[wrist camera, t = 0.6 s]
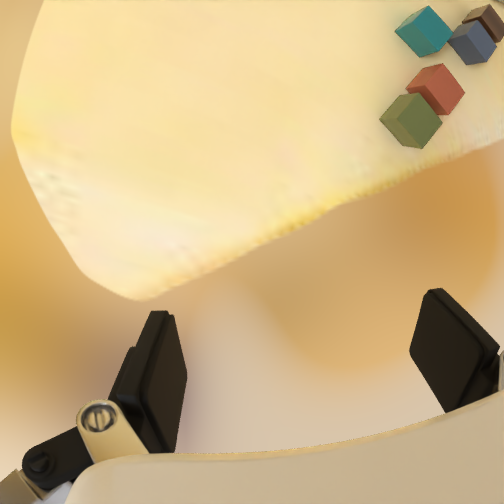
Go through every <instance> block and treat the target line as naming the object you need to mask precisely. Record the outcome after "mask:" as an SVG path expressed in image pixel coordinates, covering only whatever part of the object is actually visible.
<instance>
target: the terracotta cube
mask: <svg viewBox="0 0 504 504" xmlns="http://www.w3.org/2000/svg"><path fill="white" fill-rule="evenodd" d="M406 90H407V91H408V92H409V93H410V94H412V93H420V95H421V96H422V97H423V98H424V99H425V101H426V102H427V103H428V104H429V106H430V107H431V108H432V109H433V111H434V112H435V113H436V114H437V115H449V114H450V112H451V111H452V110H453V108H454V107H455V106H456V104H457V103H458V102H459V100H460V99H461V98H462V96H463V95H464V94H465V92H464V90H463V89H462V88H461V86H460V85H459V84H458V82H457V81H456V79H455V78H454V77H453V76H452V74H451V73H450V72H449V70H448V69H447V68H446V67H445V65H444V64H443V63H442V64H438V65H434V66H430V67H426V68H423V69H422V70H421V71H420V72H419V74H418V75H417V76H416V77H415V78H414V79H413V81H412V82H411V83H410V84H409V85H408V86H407V88H406Z"/></svg>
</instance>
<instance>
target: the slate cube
mask: <svg viewBox="0 0 504 504" xmlns="http://www.w3.org/2000/svg"><path fill="white" fill-rule="evenodd" d="M448 42H449V43H450V45H451V46H452V47H453V48H454V50H455V51H456V52H457V53H458V55H459V56H460V57H461V59H462V60H463V61H464V63H465V64H466V65H471V64H477V63H483V62H487V61H488V59H489V58H490V56H491V55H492V53H493V52H494V50H495V49H496V47H497V46H496V44H495V43H494V42H493V40H492V39H491V37H490V36H489V35H488V33H487V32H486V30H485V29H484V28H483V26H482V25H481V24H480V23H479V21H478V20H475V21H472V22H469V23H466V24H463V25H460V26H458V28H457V29H456V30H455V31H454V32H453V35H452V36H451V37H450V39H449V40H448Z"/></svg>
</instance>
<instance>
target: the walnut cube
mask: <svg viewBox="0 0 504 504" xmlns="http://www.w3.org/2000/svg"><path fill="white" fill-rule="evenodd" d="M475 20H478V21H479V23H480V24H481V25H482V26H483V28H484V29H485V30H486V32H487V33H488V35H489V36H490V37H491V39H492V40H493V42H494V43H498V42H500V41H501V40H502V38H503V36H504V23H503V21H502V20H501V18H500V17H499V16H498V14H497V13H496V12H495V10H494V9H493V8H492V6H491V5H490V4H488V5H485V6H482V7H480V8H477V9H474V10H472V11H471V12H470V13H469V14H468V16H467V17H466V18H465V19H464V20H463V21H462V23H463V24H466V23H469V22H472V21H475Z"/></svg>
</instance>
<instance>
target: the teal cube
mask: <svg viewBox="0 0 504 504" xmlns="http://www.w3.org/2000/svg"><path fill="white" fill-rule="evenodd" d="M395 32H396V33H397V34H398V35H399V36H400V37H401V38H402V39H403V40H404V41H405V42H406V43H407V45H408V46H409V47H410V48H411V49H412V50H413V51H414V52H415V53H416V54H417V55H418V56H419V57H422V56H425V55H428V54H432V53H435V52H438V51H439V50H440V49H441V48H442V47H443V46H444V44H445V43H446V42H447V41H448V40H449V39H450V37H451V36H452V35H453V32H452V31H451V30H450V29H449V27H448V26H447V25H446V24H445V23H444V22H443V21H442V19H441V18H440V17H439V16H438V15H437V14H436V13H435V12H434V11H433V10H432V9H431V8H430V6H427V7H425V8H423V9H421V10H419V11H417V12H416V13H414V14H412V15H411V16H410V17H409V18H408V19H407V20H406V21H405V22H404V23H403V24H402V25H401V26H400V27H399V28H398V29H397V30H396V31H395Z"/></svg>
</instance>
